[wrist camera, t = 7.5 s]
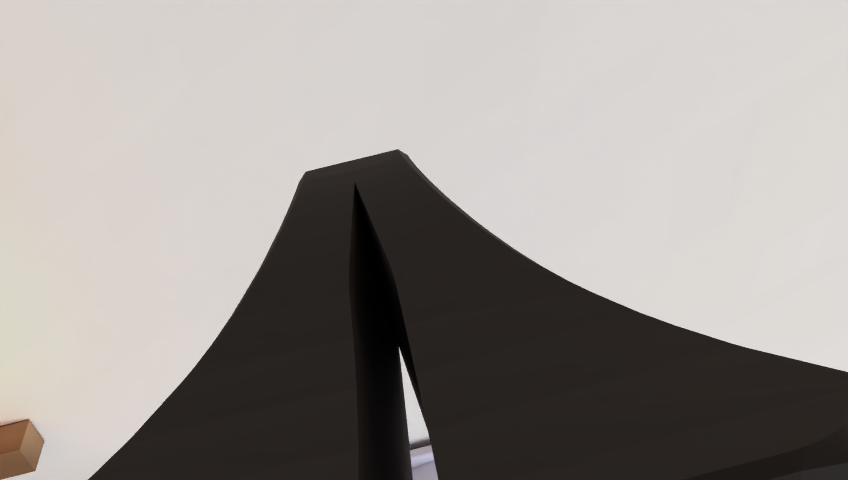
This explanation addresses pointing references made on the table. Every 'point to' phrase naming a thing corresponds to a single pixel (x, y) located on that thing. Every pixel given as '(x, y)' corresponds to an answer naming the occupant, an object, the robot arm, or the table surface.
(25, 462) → the bay
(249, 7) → the table surface
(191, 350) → the table surface
